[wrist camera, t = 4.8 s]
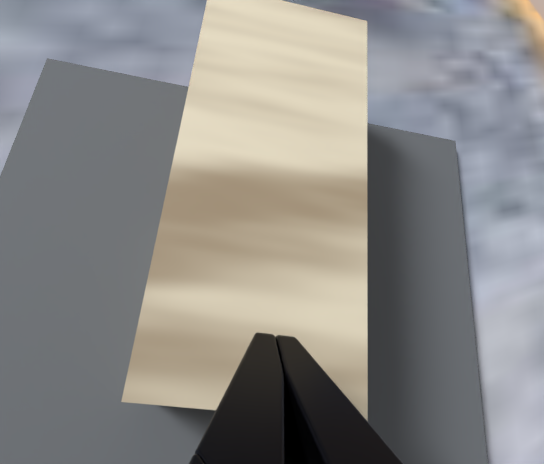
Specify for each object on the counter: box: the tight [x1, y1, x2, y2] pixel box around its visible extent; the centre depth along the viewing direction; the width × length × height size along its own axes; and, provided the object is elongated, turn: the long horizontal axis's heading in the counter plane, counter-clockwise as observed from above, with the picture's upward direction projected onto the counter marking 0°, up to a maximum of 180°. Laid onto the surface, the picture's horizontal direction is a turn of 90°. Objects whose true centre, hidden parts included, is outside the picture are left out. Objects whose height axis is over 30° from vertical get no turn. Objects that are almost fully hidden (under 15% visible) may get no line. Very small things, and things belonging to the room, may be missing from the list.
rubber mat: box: [0, 58, 488, 464], centre depth 15 cm, size 26×20×1 cm
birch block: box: [121, 0, 368, 421], centre depth 14 cm, size 5×6×14 cm
